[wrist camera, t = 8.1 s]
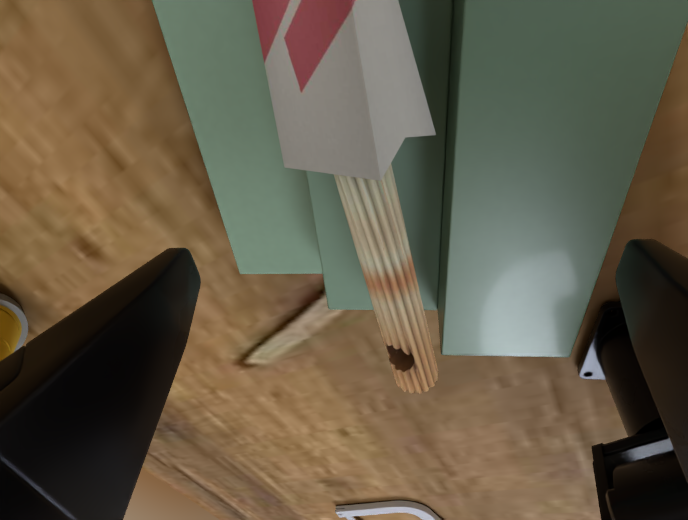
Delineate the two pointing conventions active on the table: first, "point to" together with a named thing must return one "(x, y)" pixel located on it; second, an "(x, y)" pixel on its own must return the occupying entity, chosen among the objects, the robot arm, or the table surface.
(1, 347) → the yellow cone with collar
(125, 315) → the robot arm
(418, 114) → the paintbrush
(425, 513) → the hand saw
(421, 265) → the staircase
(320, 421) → the table surface
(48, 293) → the table surface
